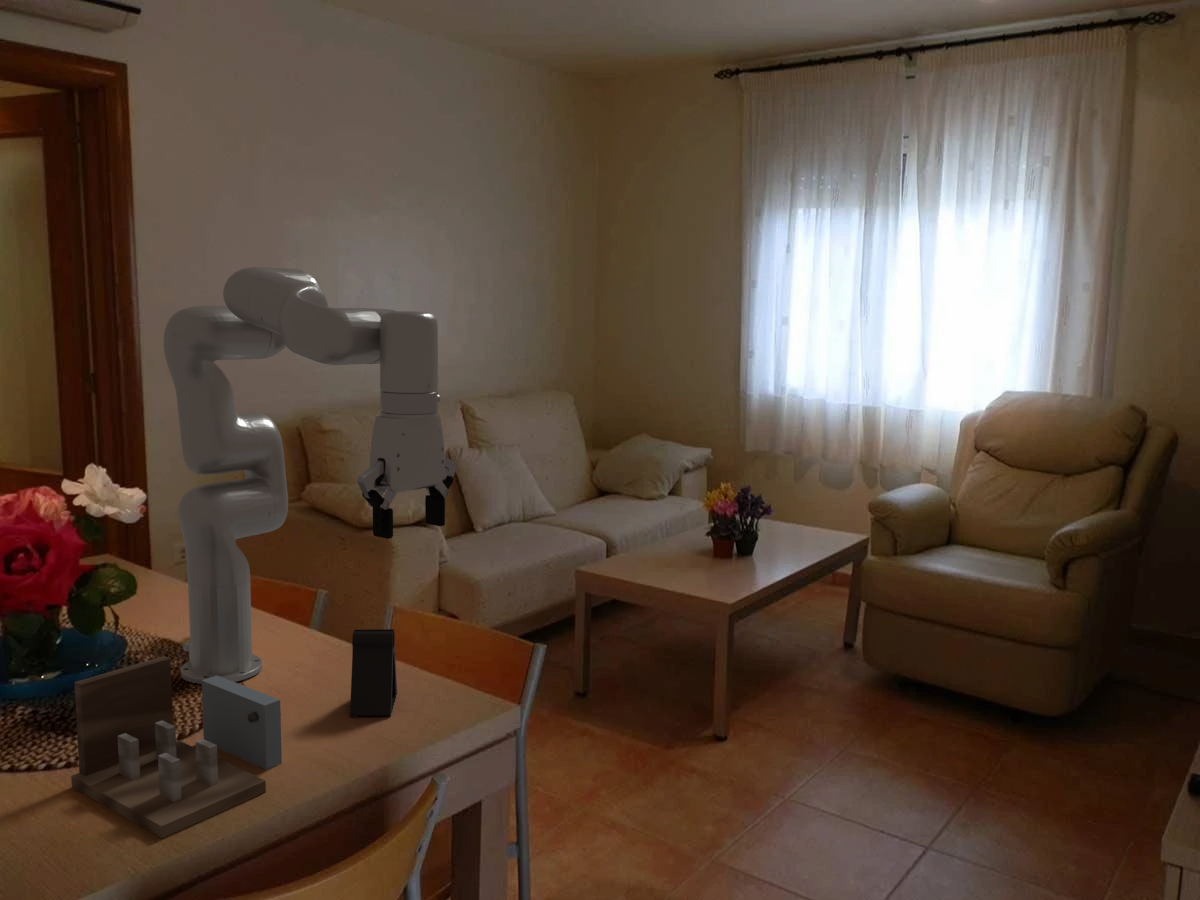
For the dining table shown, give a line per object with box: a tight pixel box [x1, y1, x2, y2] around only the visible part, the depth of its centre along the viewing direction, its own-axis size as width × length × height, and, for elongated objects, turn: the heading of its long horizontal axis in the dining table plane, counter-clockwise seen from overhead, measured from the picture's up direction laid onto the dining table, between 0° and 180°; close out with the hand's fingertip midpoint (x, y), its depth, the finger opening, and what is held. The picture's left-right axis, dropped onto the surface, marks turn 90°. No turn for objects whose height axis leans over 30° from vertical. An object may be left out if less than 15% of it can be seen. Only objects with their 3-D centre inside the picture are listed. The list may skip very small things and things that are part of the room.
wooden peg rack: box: [71, 655, 267, 839], centre depth 125 cm, size 20×14×14 cm
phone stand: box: [349, 628, 398, 718], centre depth 152 cm, size 9×6×12 cm, turn 5°
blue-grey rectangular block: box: [201, 676, 283, 771], centre depth 136 cm, size 14×3×9 cm, turn 55°
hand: (409, 530), depth 135 cm, fingers open, 9 cm apart
